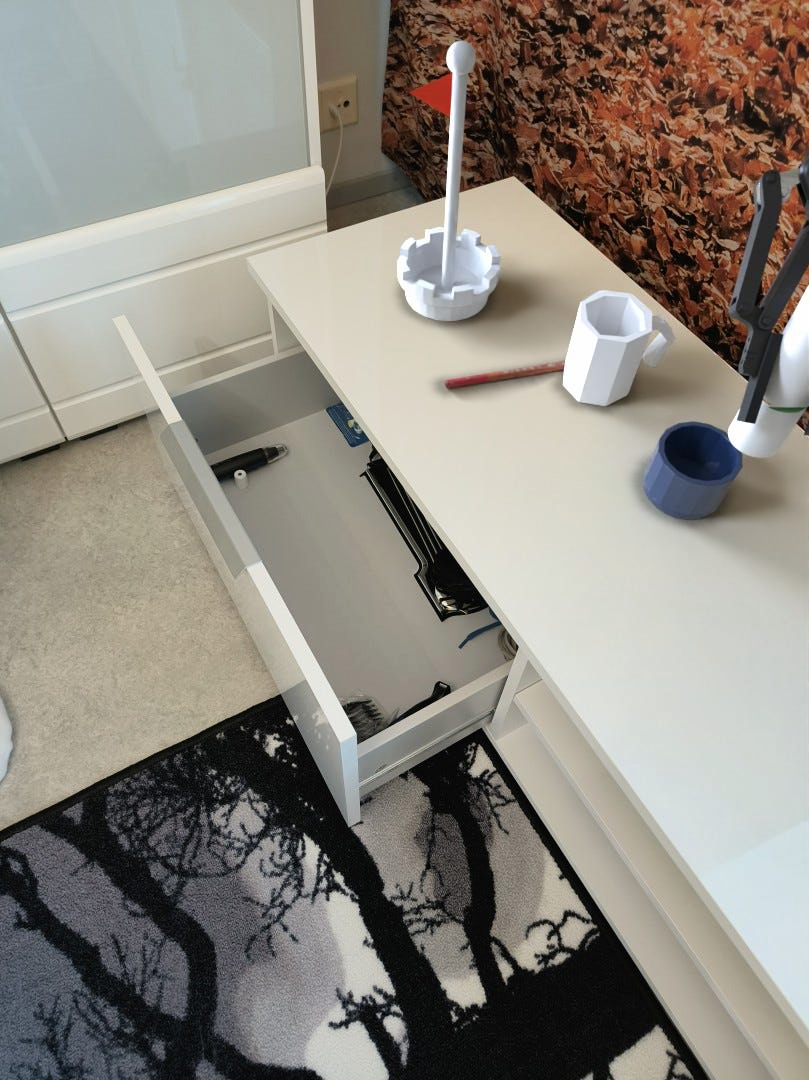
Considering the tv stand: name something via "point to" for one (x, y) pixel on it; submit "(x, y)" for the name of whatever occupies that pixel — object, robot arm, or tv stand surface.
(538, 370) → the pencil
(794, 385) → the tube
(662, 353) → the mug
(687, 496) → the cup
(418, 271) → the flag stand
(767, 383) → the robot arm
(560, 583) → the tv stand surface
